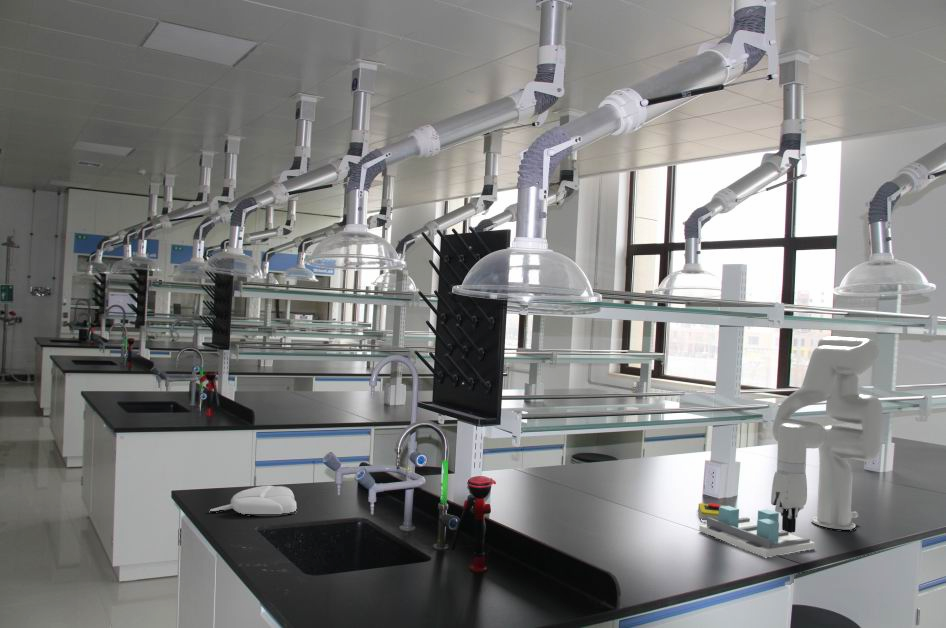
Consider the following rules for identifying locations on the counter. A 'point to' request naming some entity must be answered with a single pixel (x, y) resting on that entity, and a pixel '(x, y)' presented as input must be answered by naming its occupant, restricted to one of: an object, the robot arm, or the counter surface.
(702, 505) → the emergency button
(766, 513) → the light teal block
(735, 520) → the teal rectangular block
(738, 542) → the white ridged tray
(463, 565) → the counter surface
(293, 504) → the white computer mouse
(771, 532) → the teal rectangular block
